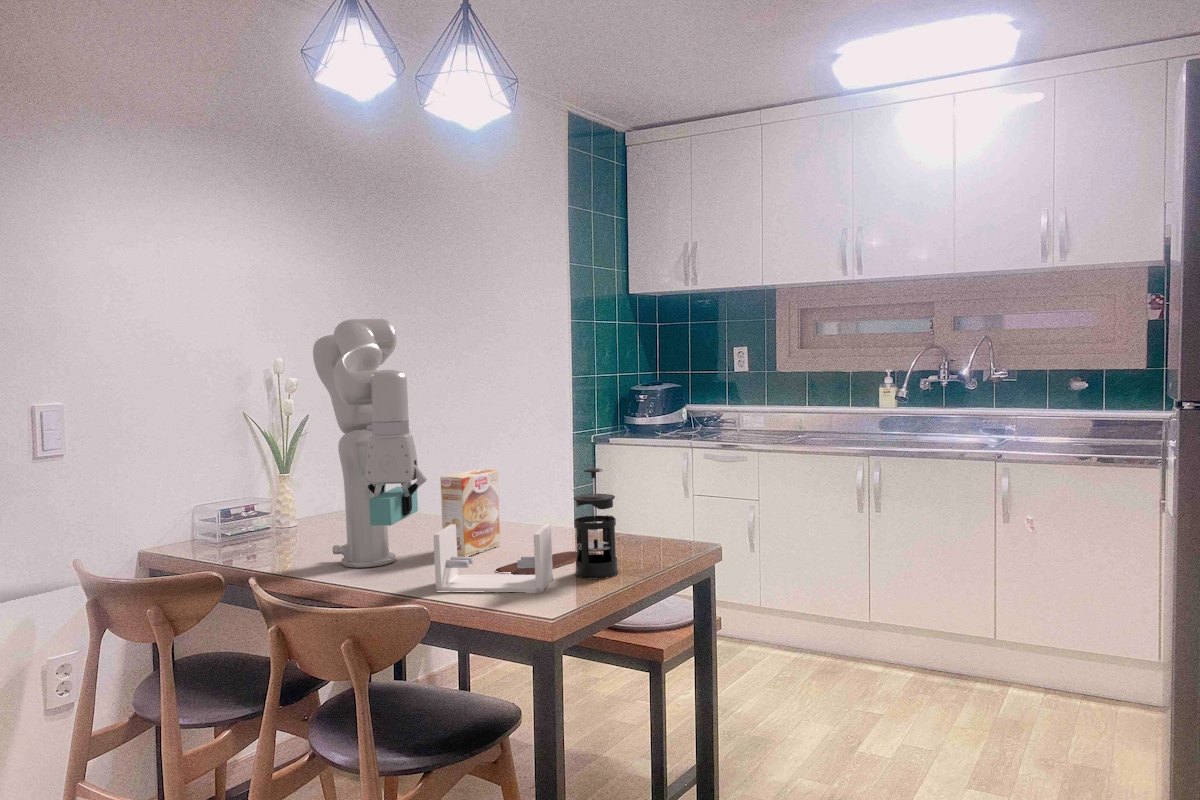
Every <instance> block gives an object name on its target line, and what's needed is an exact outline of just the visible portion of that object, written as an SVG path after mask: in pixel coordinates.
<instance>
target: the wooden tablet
mask: <svg viewBox="0 0 1200 800" xmlns="http://www.w3.org/2000/svg"><path fill="white" fill-rule="evenodd" d="M572 551H573V550H571V551H563V552H557V553H552V566H553V568H554V569H557V568H560V567H563V566H566V565H565V564H567V565H569V564H568V563H570V564H572V562H573V563H575V562H574V561H576V559H577V552H576V551H577V550H576V551H573V552H572ZM593 554H597V552H589V555H593ZM562 565H563V566H562ZM559 566H560V567H559ZM556 567H557V568H556ZM496 571H498V572H511V574H513V575H531V574H533V575H535V568H518V567H517V562H512V563H510V564H507V565H503V566H501V567H498V568H497V567H496V569H495V572H496Z"/></svg>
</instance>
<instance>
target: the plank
mask: <svg viewBox="0 0 1200 800" xmlns="http://www.w3.org/2000/svg"><path fill="white" fill-rule="evenodd" d="M403 494H404V493H403V490H402V486H395V487H394V488H391V489H389V490H386V492H384V493H382V494H379V495H377V496H375V497H372V498H370V499H369V508H370V526H373V525H388V526H393V525H395V524H397V523H399V522H401V521H402V520H403V519H406V518H408V517H410V516H412V515H413V514H415V513H417V512H418V511H419V505H418V504H419V502H418V489H417V490H416V491H415V492H414V493H413V495H412V511H411V512H410V514H408V515H406V516H403V514H402V497H404V495H403Z"/></svg>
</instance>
